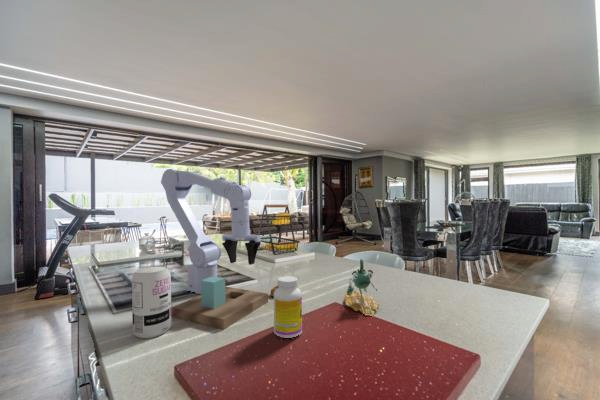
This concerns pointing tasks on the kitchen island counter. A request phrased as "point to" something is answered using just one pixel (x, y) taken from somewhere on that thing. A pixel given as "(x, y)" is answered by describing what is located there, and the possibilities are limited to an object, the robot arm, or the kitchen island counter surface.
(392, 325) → the kitchen island counter surface
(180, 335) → the kitchen island counter surface
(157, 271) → the supplement can
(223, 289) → the teal block
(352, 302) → the frog figurine
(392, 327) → the kitchen island counter surface
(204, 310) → the walnut pocket plate
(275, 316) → the supplement bottle
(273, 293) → the pastry
